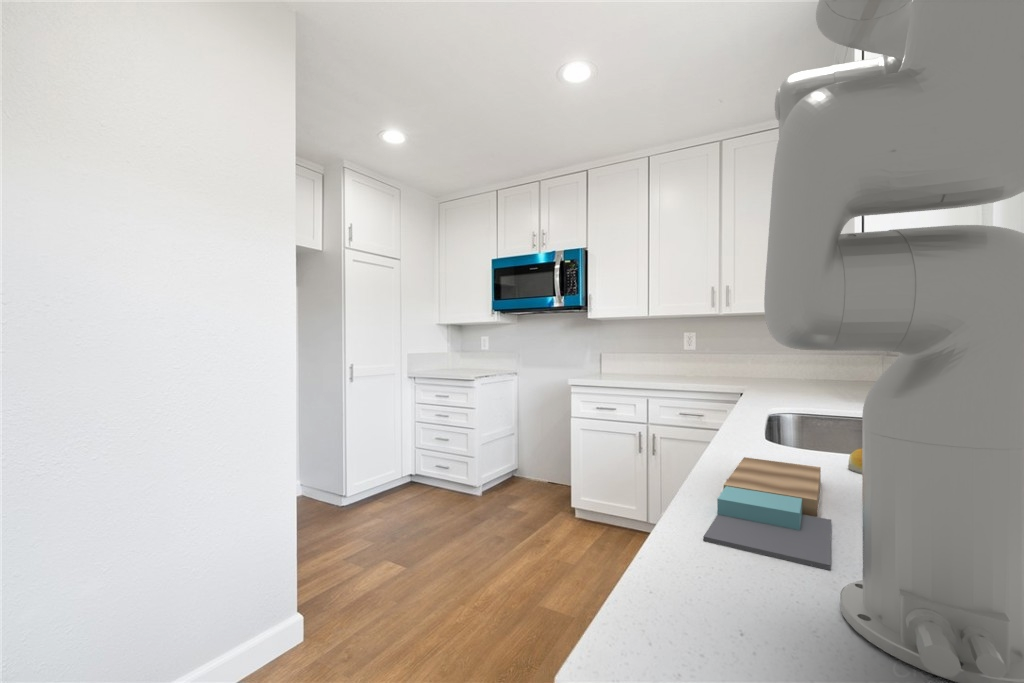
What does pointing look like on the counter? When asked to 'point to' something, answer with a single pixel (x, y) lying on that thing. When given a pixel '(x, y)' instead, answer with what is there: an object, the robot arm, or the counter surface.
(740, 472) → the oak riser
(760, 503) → the teal tile
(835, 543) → the counter surface
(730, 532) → the charcoal mat
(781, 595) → the counter surface
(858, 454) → the bread roll
